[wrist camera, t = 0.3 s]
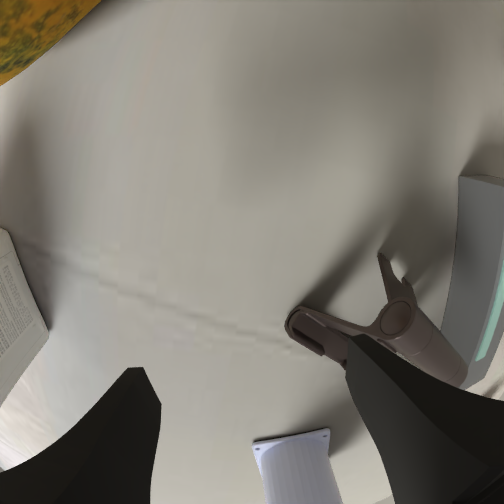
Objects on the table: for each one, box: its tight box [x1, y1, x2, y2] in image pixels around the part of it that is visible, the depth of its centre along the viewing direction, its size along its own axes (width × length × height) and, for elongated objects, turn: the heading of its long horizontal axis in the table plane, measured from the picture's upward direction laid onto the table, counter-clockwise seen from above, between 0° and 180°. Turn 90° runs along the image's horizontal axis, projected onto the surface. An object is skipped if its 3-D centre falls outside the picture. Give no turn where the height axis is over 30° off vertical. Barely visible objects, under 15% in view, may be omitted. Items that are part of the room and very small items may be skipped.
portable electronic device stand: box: [285, 253, 468, 387], centre depth 16 cm, size 9×8×8 cm
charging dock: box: [440, 175, 504, 390], centre depth 17 cm, size 18×4×5 cm, turn 8°
